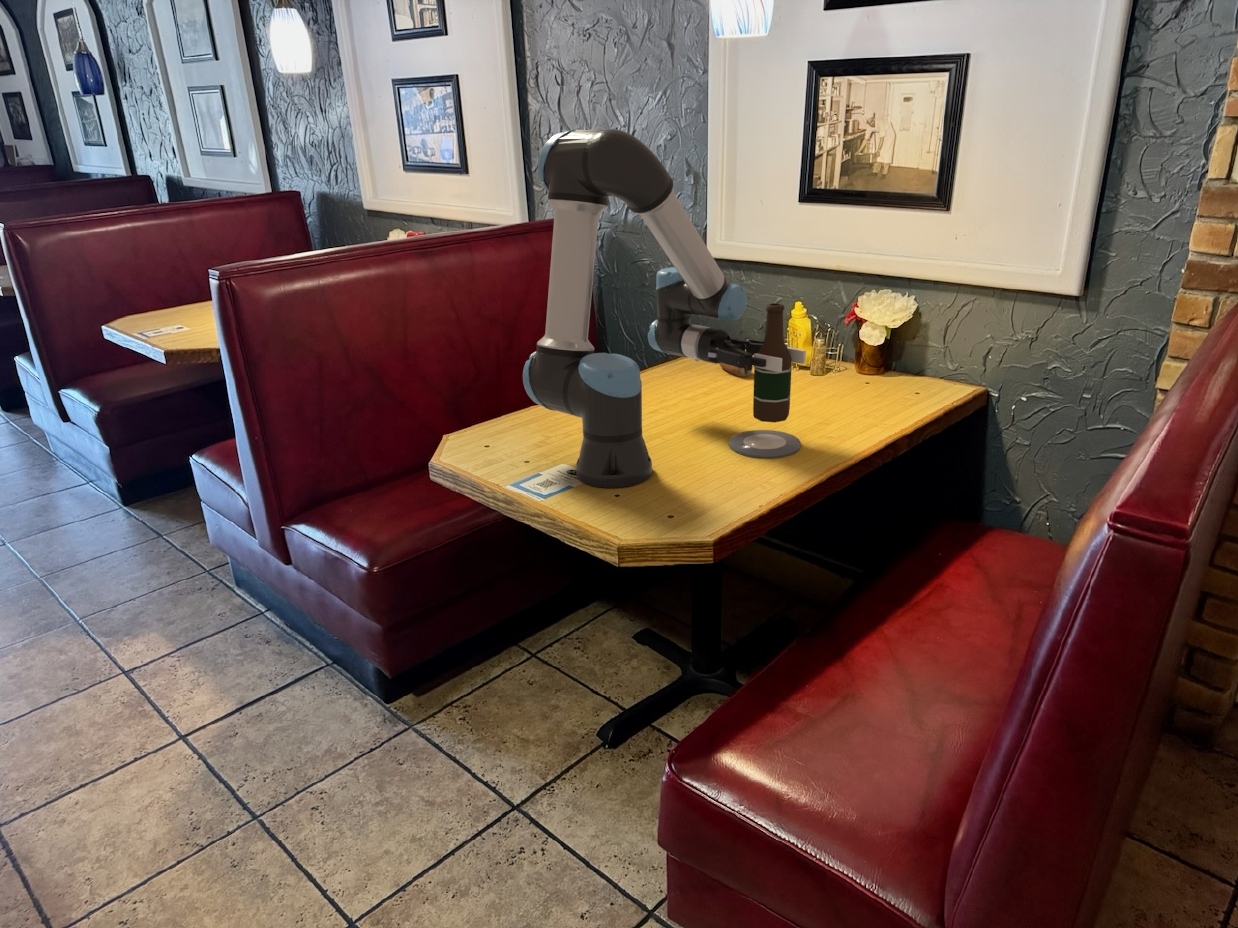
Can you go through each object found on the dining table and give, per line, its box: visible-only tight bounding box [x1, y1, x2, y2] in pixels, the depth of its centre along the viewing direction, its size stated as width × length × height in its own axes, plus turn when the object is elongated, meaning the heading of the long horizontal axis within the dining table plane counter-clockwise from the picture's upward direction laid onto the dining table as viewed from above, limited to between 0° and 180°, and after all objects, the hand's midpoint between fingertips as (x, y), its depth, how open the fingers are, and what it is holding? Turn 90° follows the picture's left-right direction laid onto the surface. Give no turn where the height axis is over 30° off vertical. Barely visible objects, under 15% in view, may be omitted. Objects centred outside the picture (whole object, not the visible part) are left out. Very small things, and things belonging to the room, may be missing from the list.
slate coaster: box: [728, 429, 801, 459], centre depth 180 cm, size 15×15×1 cm
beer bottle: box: [752, 302, 793, 423], centre depth 175 cm, size 8×8×24 cm
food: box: [718, 362, 753, 378], centre depth 233 cm, size 14×6×5 cm, turn 21°
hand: (792, 361), depth 171 cm, fingers closed on beer bottle, 7 cm apart
